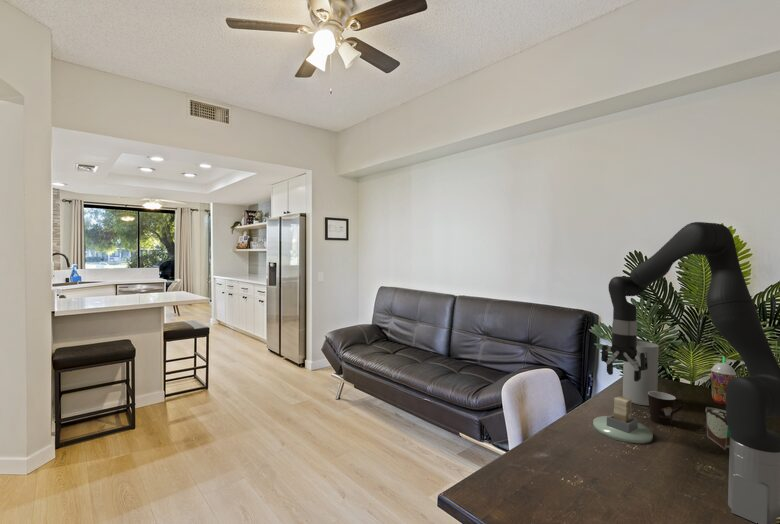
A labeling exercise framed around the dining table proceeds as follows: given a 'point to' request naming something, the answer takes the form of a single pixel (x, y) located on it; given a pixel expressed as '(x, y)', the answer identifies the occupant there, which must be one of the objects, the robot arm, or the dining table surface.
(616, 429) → the clip plate
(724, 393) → the smoothie
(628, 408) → the beige rectangular block
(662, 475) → the dining table surface
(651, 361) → the cylinder vase
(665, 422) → the coffee mug
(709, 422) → the food container
